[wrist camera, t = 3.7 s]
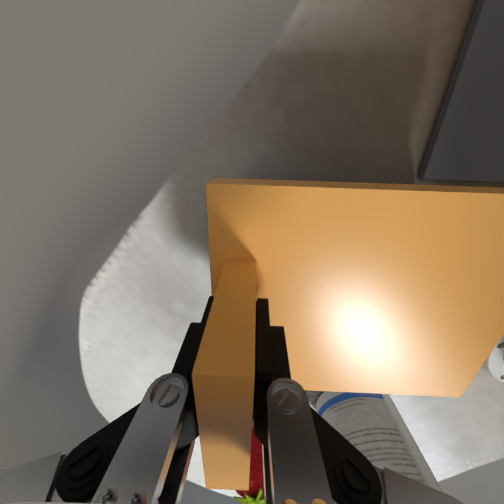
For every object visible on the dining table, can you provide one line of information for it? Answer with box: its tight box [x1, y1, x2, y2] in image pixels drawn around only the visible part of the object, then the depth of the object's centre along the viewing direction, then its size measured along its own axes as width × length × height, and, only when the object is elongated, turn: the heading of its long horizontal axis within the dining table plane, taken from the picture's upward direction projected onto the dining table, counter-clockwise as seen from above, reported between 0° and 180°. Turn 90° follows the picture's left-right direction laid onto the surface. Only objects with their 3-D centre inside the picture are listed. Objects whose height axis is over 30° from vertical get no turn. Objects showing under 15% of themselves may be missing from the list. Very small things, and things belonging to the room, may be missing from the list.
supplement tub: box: [316, 391, 443, 492], centre depth 23 cm, size 10×10×15 cm
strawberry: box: [234, 425, 265, 504], centre depth 27 cm, size 6×8×10 cm
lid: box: [192, 177, 504, 490], centre depth 10 cm, size 16×13×8 cm
